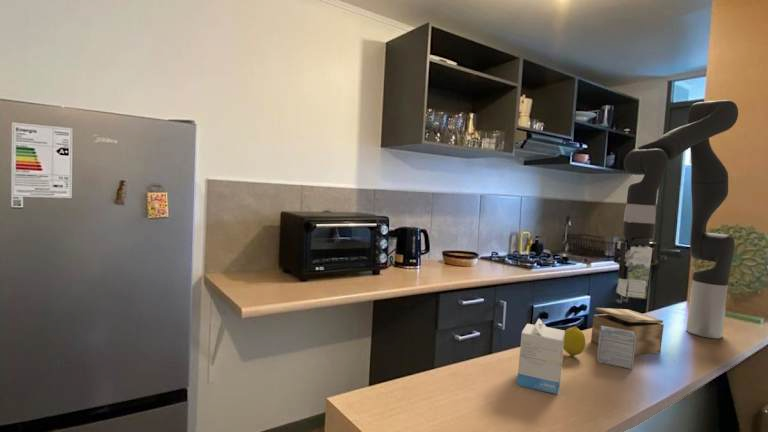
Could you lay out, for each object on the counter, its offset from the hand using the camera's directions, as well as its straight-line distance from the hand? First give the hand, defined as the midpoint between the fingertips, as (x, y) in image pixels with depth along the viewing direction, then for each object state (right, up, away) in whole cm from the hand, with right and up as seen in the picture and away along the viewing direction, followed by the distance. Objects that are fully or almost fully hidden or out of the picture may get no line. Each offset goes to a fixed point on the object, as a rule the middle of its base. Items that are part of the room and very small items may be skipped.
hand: (632, 278), depth 118 cm
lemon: (-21, -19, -9) cm, 30 cm away
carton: (-1, -20, +1) cm, 20 cm away
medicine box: (-12, -20, -11) cm, 26 cm away
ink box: (-36, -20, -25) cm, 48 cm away
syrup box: (0, -5, 0) cm, 5 cm away
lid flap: (-1, -11, +1) cm, 11 cm away
